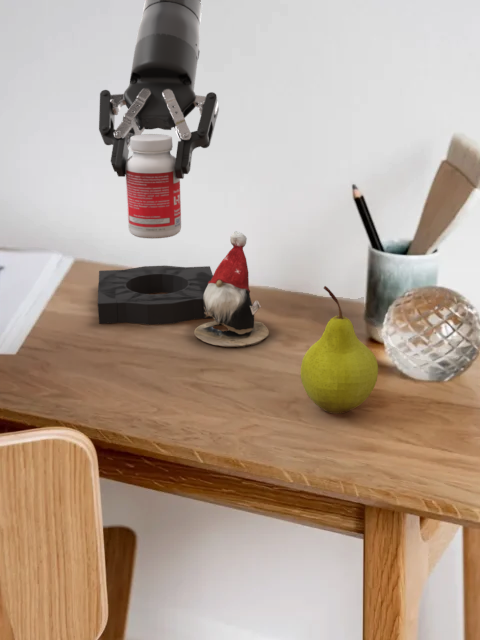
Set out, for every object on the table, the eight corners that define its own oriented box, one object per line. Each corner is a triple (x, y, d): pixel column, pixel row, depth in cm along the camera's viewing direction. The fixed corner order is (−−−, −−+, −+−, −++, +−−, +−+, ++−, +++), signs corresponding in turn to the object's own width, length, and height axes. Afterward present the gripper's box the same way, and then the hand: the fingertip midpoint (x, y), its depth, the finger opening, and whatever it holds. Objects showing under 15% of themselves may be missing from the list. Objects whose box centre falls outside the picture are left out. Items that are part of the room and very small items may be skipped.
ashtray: (98, 327, 95) (97, 306, 94) (100, 286, 108) (99, 268, 107) (222, 321, 97) (222, 301, 96) (209, 282, 110) (209, 263, 109)
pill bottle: (185, 238, 97) (182, 140, 92) (131, 241, 96) (126, 142, 91) (177, 224, 102) (174, 131, 98) (126, 227, 101) (121, 133, 97)
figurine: (197, 326, 85) (192, 229, 91) (195, 369, 94) (190, 279, 100) (277, 324, 86) (268, 228, 92) (268, 367, 95) (260, 278, 101)
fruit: (366, 390, 81) (374, 271, 76) (383, 424, 75) (393, 297, 70) (295, 393, 80) (298, 273, 75) (306, 427, 74) (311, 299, 69)
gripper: (100, 30, 97) (78, 152, 92) (223, 31, 96) (208, 156, 90) (114, 73, 104) (94, 190, 99) (229, 75, 103) (216, 194, 97)
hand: (149, 173), depth 95 cm, fingers closed on pill bottle, 6 cm apart
